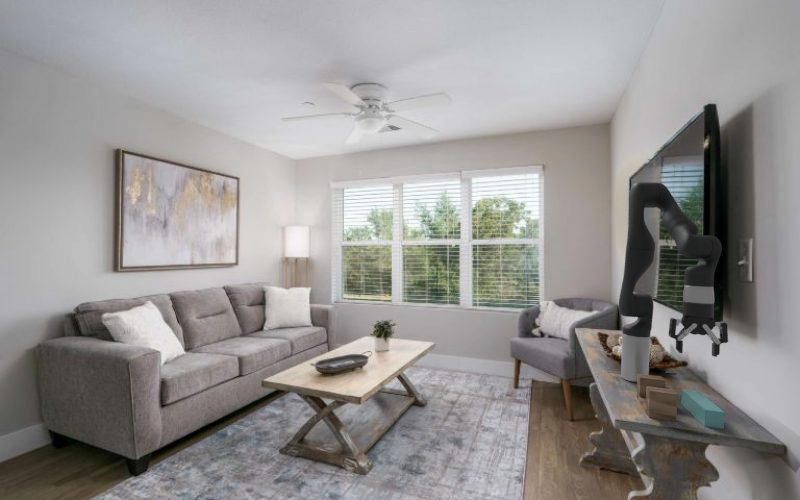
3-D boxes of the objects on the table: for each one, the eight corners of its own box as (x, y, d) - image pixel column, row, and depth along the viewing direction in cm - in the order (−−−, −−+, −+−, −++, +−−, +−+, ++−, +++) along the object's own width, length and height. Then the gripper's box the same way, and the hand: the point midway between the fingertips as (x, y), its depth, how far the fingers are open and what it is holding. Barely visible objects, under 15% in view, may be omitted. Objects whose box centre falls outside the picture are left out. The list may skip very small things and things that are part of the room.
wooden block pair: (636, 397, 133) (637, 373, 133) (660, 400, 131) (661, 376, 131) (648, 417, 117) (649, 390, 117) (676, 421, 115) (677, 394, 115)
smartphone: (657, 372, 161) (643, 360, 175) (657, 374, 161) (643, 363, 175) (677, 373, 159) (662, 362, 174) (677, 376, 159) (662, 364, 174)
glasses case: (681, 404, 129) (681, 389, 129) (697, 406, 127) (698, 391, 127) (704, 427, 112) (705, 409, 112) (723, 429, 111) (724, 412, 111)
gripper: (722, 301, 120) (721, 354, 120) (667, 298, 126) (666, 348, 125) (732, 304, 113) (731, 360, 113) (673, 300, 119) (672, 354, 118)
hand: (696, 354), depth 119 cm, fingers open, 8 cm apart
